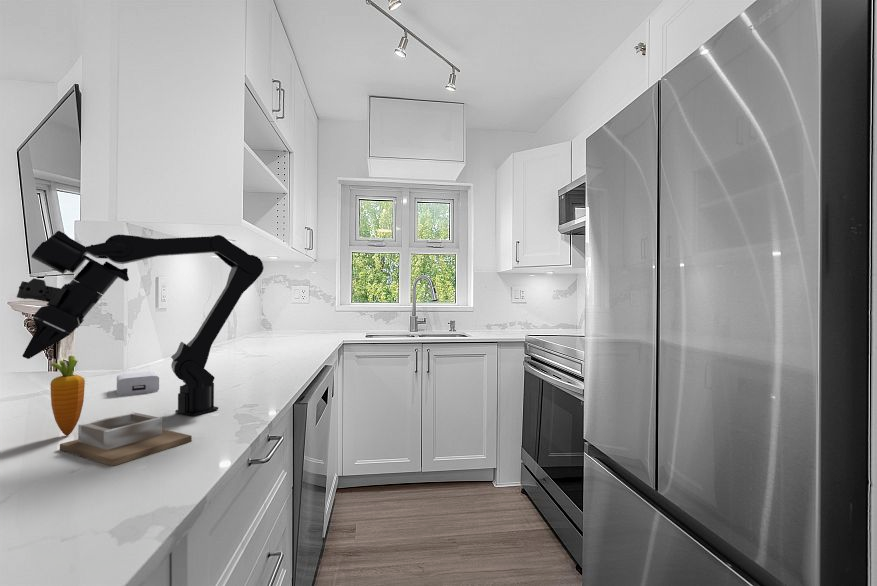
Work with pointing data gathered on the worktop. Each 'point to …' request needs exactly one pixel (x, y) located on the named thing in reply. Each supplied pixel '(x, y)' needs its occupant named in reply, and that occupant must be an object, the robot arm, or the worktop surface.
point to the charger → (137, 383)
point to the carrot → (67, 396)
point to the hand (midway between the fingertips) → (29, 354)
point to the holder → (123, 438)
